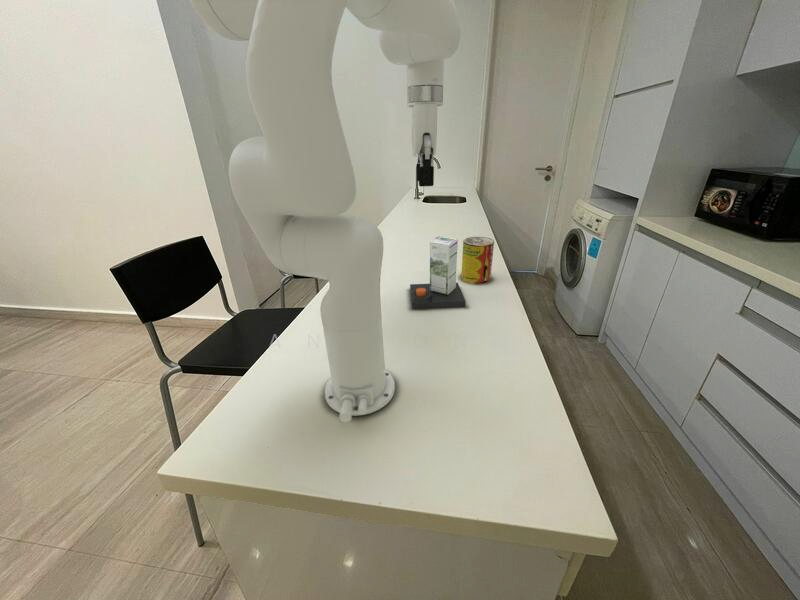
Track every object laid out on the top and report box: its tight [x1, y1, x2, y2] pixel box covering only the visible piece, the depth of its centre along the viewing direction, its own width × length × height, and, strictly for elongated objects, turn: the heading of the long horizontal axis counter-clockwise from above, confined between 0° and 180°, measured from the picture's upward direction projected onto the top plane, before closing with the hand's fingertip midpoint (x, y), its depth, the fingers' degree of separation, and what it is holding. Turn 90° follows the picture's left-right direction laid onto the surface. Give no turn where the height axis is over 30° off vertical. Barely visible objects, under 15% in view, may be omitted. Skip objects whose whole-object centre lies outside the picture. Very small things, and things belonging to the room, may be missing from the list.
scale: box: [409, 282, 466, 310], centre depth 91 cm, size 13×14×4 cm
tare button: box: [416, 288, 426, 297], centre depth 87 cm, size 3×3×2 cm
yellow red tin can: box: [460, 236, 495, 285], centre depth 101 cm, size 9×9×12 cm
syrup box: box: [429, 235, 459, 295], centre depth 89 cm, size 6×6×14 cm
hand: (424, 183), depth 77 cm, fingers open, 9 cm apart
